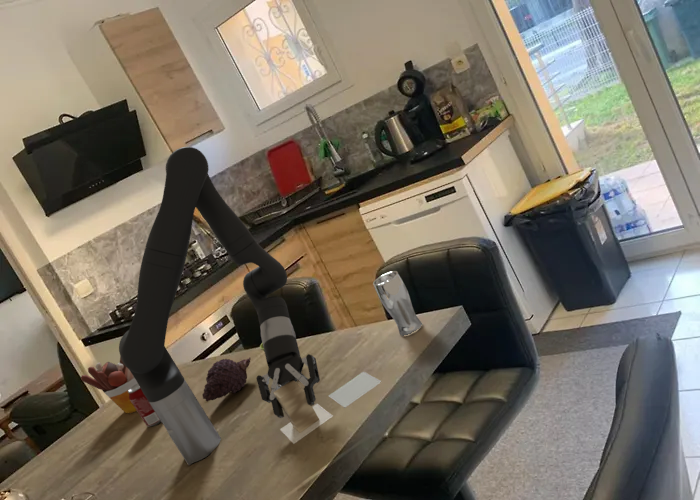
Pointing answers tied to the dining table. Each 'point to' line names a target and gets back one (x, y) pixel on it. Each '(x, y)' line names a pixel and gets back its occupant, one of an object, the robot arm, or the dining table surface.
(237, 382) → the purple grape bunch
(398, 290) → the beer glass
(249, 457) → the dining table surface
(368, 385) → the rest pad
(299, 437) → the tile
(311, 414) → the beech block
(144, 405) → the soda can
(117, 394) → the bucket of meat
